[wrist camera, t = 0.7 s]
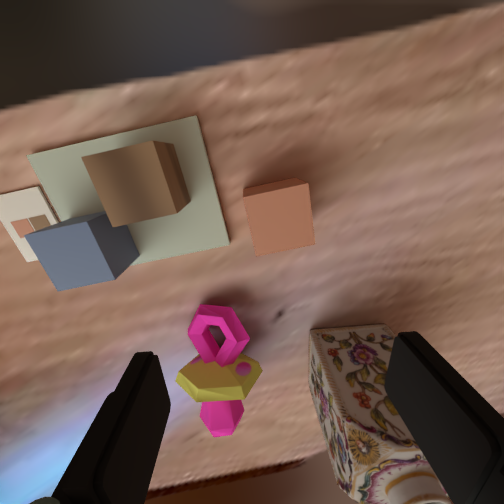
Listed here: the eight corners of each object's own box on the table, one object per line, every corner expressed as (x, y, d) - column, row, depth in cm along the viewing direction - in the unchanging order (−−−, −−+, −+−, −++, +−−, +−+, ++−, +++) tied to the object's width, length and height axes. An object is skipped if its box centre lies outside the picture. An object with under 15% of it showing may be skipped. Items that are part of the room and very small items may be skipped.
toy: (265, 297, 34) (230, 325, 24) (270, 414, 35) (239, 484, 26) (205, 292, 38) (155, 315, 28) (212, 398, 39) (168, 453, 30)
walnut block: (173, 143, 24) (152, 140, 19) (191, 201, 26) (177, 213, 21) (117, 156, 25) (80, 157, 19) (140, 212, 27) (112, 227, 21)
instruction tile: (39, 186, 26) (36, 186, 26) (74, 251, 29) (72, 252, 29) (-11, 197, 26) (-15, 198, 26) (29, 261, 29) (26, 262, 29)
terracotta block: (294, 177, 27) (308, 183, 21) (301, 227, 29) (315, 244, 23) (243, 188, 27) (243, 197, 22) (253, 237, 29) (256, 256, 24)
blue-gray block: (119, 207, 26) (86, 221, 21) (140, 255, 29) (115, 279, 23) (69, 218, 27) (23, 235, 21) (93, 265, 29) (57, 291, 24)
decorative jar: (308, 326, 35) (366, 484, 18) (386, 320, 35) (517, 471, 18) (306, 384, 39) (353, 552, 23) (376, 378, 39) (474, 542, 23)
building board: (197, 116, 24) (195, 115, 23) (230, 242, 29) (229, 244, 29) (32, 155, 25) (26, 155, 24) (93, 271, 30) (89, 274, 29)
